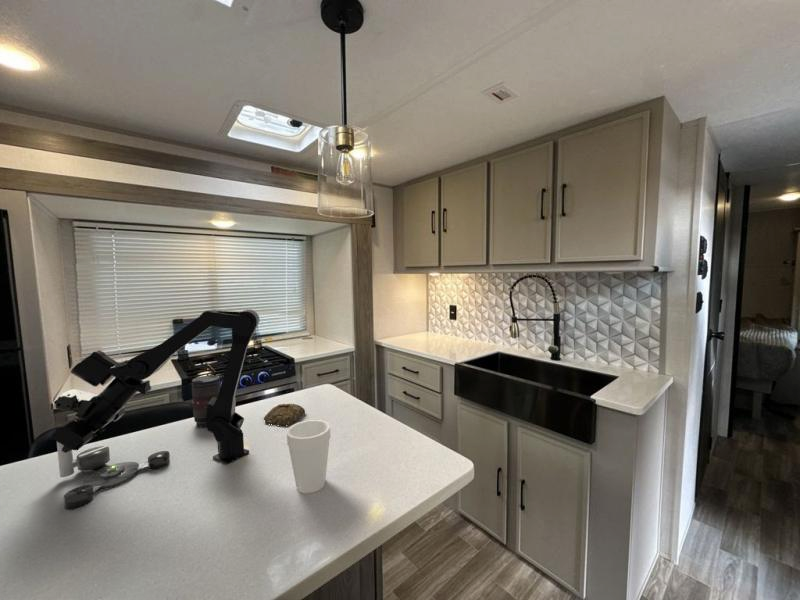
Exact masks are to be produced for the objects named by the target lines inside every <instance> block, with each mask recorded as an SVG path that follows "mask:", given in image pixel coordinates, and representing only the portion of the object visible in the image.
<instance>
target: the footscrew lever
mask: <svg viewBox="0 0 800 600" xmlns="http://www.w3.org/2000/svg"><path fill="white" fill-rule="evenodd" d="M63 446H64V445H62V444H61V443H59V442H57V441H56V448H57V460H58V470H59V478H65V477H66V478H67V477H69V476H71V475H73V474H75V468H77V471H80V472H81V471H82V472H84V471H85V470H91V469H95V468H98V467H100V466H102V465H104V464H106V465H107V463H109V462H110V461H111V456H110V455H111V454H110V447H109V446H107V445H103V446H96V447H92V448H88V449H86V450H83V451H82V452H80V453H78V454H77V455H76V459H74V456H73V450H70V451H69V452H67V453H65V452H63V451H62V448H63Z"/></svg>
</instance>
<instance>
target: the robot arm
mask: <svg viewBox="0 0 800 600" xmlns="http://www.w3.org/2000/svg"><path fill="white" fill-rule="evenodd" d="M259 324H260V315H259V314H258V313H257V312H256V311H255V310H253V309H247V308H246V309H242V311H228V310H216V309H208V310H205V311H203V312H202V313H201V314H200V315H199V316H198V317H197V318H195V319H194V320H193V321H190V323H188V324H186V325H185V326H184V327H182V328H181V329H179V330H178V331H177V332H175V333H174V334H173V335H171V336H170V337H169V338H167V339H166V340H164V341H163V342H161V343H160V344H158V345H156V346H154V347H152V348H149V349H147V350H146V351H144V352H142V353H140V354H138V355H136V356H134V357H132V358H130V359H128V360H127V359H125V360H123V361H121V362H118V361H117V360H115V359H113V358H111V357H110V356H108V355H107V354H106V353H105V352H104V351H102V350H100V349H97V350H95V351H93V352H92V353H91V354H90V355H88V356H86V357H85V358H84V359H83V360H81V361H80V362H78V363H76V364H75V366H73V368H72V369H71V371H70V374H72V375H74V376H75V377H77V378H79V379H81V380H82V381H84V382H86V383H87V384H88V385H90V386H93V388H94V387H98V386H99V385H101V386H106V384H108V383H109V384H108V385H107V386H106V387H105V388H104V389H103V390H102V391H101V392H100V393H99V394H95V393H93V392H89V391H85V390H80V389H75V388H74V389H73V388H72V389H68V390H67V391H65V392H63V393H61V394H60V395H59V396H58V398H57V399H56V400H54V402H53V403H54V407H55V409H56V410H61V411H65V412H73V413H76V414H75V415H74V416H75V417H77V418H76V420H73V419H72V420H67V421H64V422H63V423H61V424H60V425H58V426H56V427H55V428H54V429H53V430H52V431H51V432H50V433H49V434H48V437H49V438H50V439H52V440H53V441H57V442H59V443H61V444H62V445H64V446H63V448H62V451H63V452H65V453H67V452H69V451H70V450H72V451H79V450H80V449H81V448H83V447H84V446H85V445H86V444H87V443H88V442H90V441H92V440H93V439H94V438H95V437H97V436H98V435H99V434H101V433H102V432H104V431H106V429H107V425H108V424H110V423H111V422H112V421H113V423H114V422H117V421H118V420H120V418H122V416H124V414H125V413H126V409H125V407H126V406H127V405H128V402H129V401H130V400H131V399H132V398H133V397H134V396H135V395H136V394H137V392H138V393H140V394H142V395H145V394H147V393H148V392H150V391H151V390H152V387H151V386H152V385H151V383H150V382H151V380H146V379H148V378H149V377H151V376H153V375H154V374H156V373H157V372H159V371H160V370H161V369H162V368H163V367H164V366H165V365H166V364H167V363H168V362H169V360H170V359H171V358H172V357H173V356H174V355H175V354H176V353H177V352H178V351H180V350H181V349H183V348H184V347H186V346H187V345H188V344H189V343H191V342H192V341H194V340H195V339H196V338H198V337H199V336H200V335H202V334H203V333H204V332H205V331H207V330H208V329H209V328H211V327H217V328H222V329H229V330H231V347H230V351H229V353H228V358H227V362H226V365H225V370H224V373H223V377H222V382H221V383H220V392H219V395H218V398H216V397H213V398H212V399H211V401H210V402H209V404H208V405H207V414H206V416H205V418H204V419H203V421H205V420H206V424H205V426H206V427H205V429H207V431H208V432H209V433H211V434H212V435H213V436H214V437H213V438H214V439H215V440H216V443H217V452H218V453H217V454H214V455H213V456H212V460H216V461H218V462H222V463H224V464H226V465H229V464H231V463H233V462H235V461H236V460H238V459H240V458H242V457H244V456H246V455H247V454H249V453H250V450H249V449H247V448H245V446H244V445H245V443H244V442H245V441H244V432H243V430H242V429H241V428H242V426H243V423H244V422H245V418H244V416H243V415H240V414H239V413H237V412H236V403H237V402H236V400H237V399H236V393H237V389H238V386H239V382H240V377H241V374H242V373H241V372H242V370H243V366H244V362H245V358H246V356H247V355H246V354H247V350H248V347H249V344H250V342H251V340H252V338H253V336H254V334H255V332H256V330H257V328H258V326H259ZM111 380H112V381H111ZM57 442H56V443H57Z"/></svg>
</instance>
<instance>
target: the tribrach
mask: <svg viewBox="0 0 800 600" xmlns="http://www.w3.org/2000/svg"><path fill="white" fill-rule="evenodd" d="M170 462H171V459H170V452H169V451H168V450H163V451H162V450H161V451H157V452H154V453H151V454H150V455H149V456H148V457H147V462H142V463H138V462H135V461H125V462H120V463H119V462H118V463H114V464H112V465H108V464H107V463H106V464H104V465H102V466H100V467H98V468H95V469H91V470H85V471H83V473H84V474H90V475H89V476H87V477H86V478H85V479H84V480H83V481H84V482H83V485H81V486H78V487H75V488H72V489H71V490H69V491H67V492H65V493H64V495H63V500H64V510H66V511H72V510H77V509H79V508H83V507H85V506H86V505H89V504H90V503H92V501H93V500H94V497H95V496H96V495H98V494H99V493H100V492H102V491H103V490H107V489H112V488H115V487H117V486H120V485H122V484H125V483H126V482H128V481H130V480H132V479H133V478H135V477H136V476H137V475H138V474H139V473H144V472H147V471H156V470H159V469H163V468H166V467H167V466H168V465H170Z"/></svg>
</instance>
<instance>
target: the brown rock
mask: <svg viewBox="0 0 800 600" xmlns="http://www.w3.org/2000/svg"><path fill="white" fill-rule="evenodd" d="M304 413H306V410H305V408H303V406H301V405H299V404H295V403H281V404H277V405H276V406H274V407H273V408H271V410H269V411H268V412H267V414H265V415H264V418H263V419H264V420H265V422H264V424H265V425H267V424H270V425H271V424H272V425H279V426H285V427H287V426H286V425H289V426H291V425H293V424H295V423H297V422H298V421H299V420H300V419H302V417H303V416H302V415H303V414H304ZM304 415H305V414H304ZM264 420H263V421H264ZM296 421H297V422H296ZM294 422H295V423H294ZM292 423H293V424H292ZM290 424H291V425H290ZM270 425H269V426H270ZM279 426H278V427H279Z"/></svg>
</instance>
